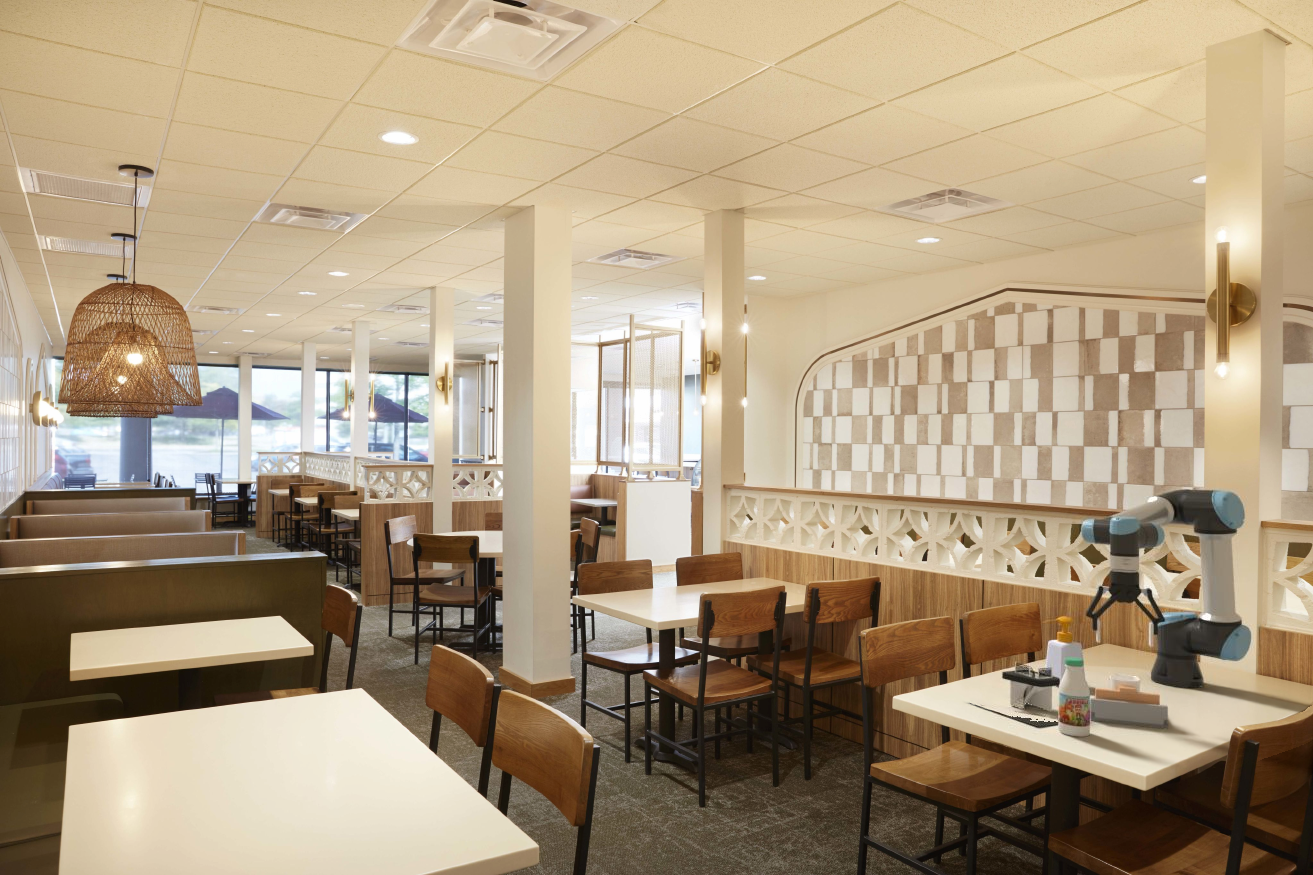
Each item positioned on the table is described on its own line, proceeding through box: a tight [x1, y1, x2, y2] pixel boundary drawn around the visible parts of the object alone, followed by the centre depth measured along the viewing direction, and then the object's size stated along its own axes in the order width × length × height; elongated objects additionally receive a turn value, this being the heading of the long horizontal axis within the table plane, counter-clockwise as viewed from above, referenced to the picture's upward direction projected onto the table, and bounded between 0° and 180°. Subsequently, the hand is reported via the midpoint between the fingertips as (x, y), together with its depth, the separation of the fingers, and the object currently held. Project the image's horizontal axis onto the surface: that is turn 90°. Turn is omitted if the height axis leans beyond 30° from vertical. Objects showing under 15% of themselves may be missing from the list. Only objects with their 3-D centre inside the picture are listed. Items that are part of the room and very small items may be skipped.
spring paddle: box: [1094, 685, 1161, 705], centre depth 247 cm, size 16×3×8 cm, turn 69°
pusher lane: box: [1090, 697, 1169, 730], centre depth 252 cm, size 19×19×6 cm
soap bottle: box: [1042, 615, 1086, 682], centre depth 285 cm, size 10×14×22 cm
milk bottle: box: [1057, 657, 1091, 737], centre depth 236 cm, size 8×8×20 cm
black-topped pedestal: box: [1001, 661, 1060, 728], centre depth 258 cm, size 28×26×13 cm
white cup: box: [1109, 674, 1141, 692], centre depth 252 cm, size 8×8×10 cm
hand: (1124, 643), depth 252 cm, fingers open, 13 cm apart
